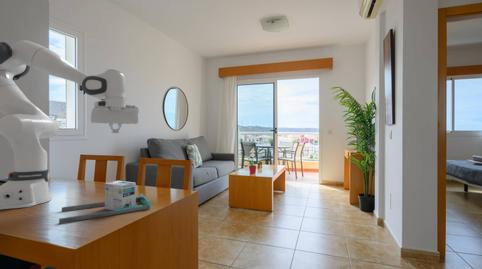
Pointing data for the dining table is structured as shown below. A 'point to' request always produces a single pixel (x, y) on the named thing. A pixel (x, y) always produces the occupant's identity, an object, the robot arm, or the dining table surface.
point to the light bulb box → (120, 194)
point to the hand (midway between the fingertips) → (115, 133)
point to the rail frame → (101, 214)
